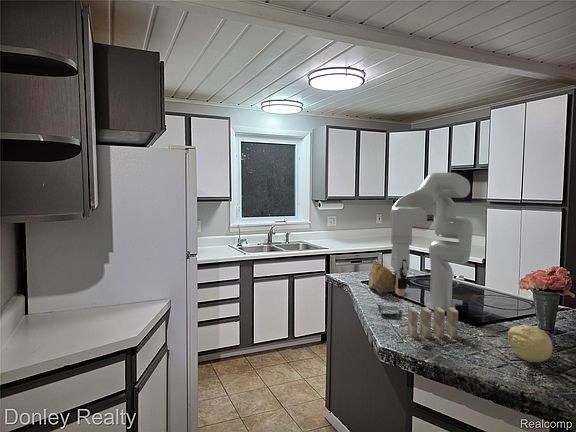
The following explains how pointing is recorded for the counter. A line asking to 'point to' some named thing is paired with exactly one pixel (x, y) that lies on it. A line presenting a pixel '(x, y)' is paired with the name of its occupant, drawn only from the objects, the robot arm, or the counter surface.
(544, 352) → the yellow oval melon
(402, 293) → the domino
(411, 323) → the domino
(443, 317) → the domino
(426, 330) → the domino
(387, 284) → the rough brown rock
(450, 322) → the domino
